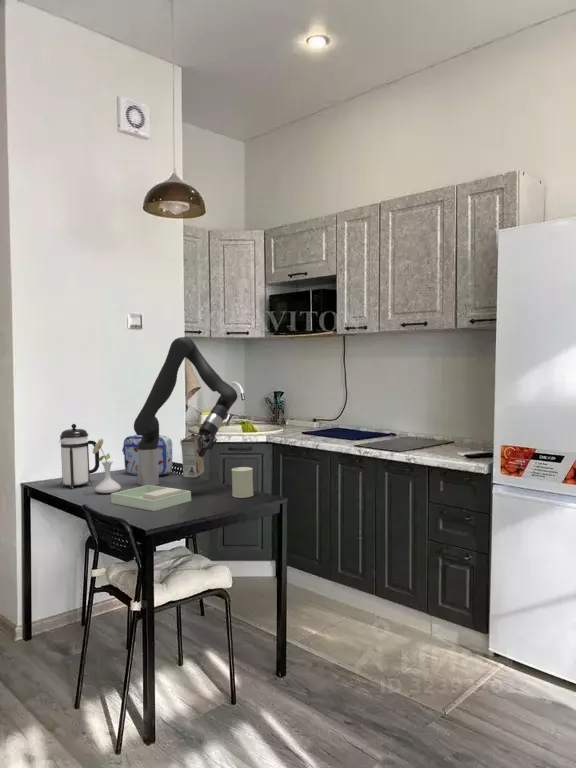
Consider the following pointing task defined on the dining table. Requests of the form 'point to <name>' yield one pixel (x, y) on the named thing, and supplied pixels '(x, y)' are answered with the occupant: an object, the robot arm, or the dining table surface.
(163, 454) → the lunch box
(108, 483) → the flower in vase
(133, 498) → the tray
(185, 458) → the coffee box
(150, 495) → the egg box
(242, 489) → the can
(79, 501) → the dining table surface
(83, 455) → the coffee press
